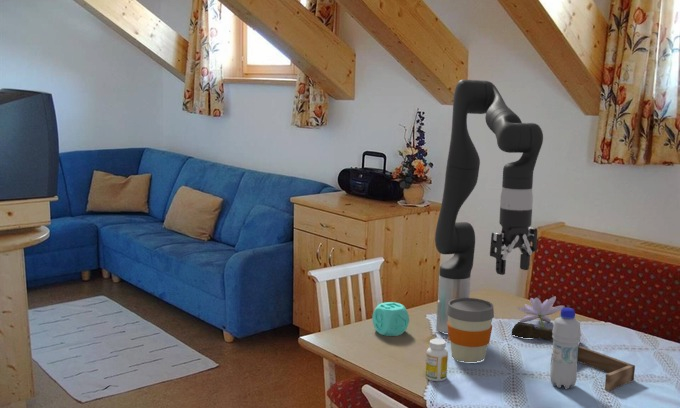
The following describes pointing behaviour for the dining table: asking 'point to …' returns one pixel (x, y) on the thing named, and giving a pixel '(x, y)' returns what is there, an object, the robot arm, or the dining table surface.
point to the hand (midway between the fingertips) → (512, 271)
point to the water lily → (540, 310)
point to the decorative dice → (390, 319)
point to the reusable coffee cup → (469, 328)
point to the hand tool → (532, 331)
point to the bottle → (565, 349)
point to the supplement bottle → (436, 360)
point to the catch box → (607, 367)
